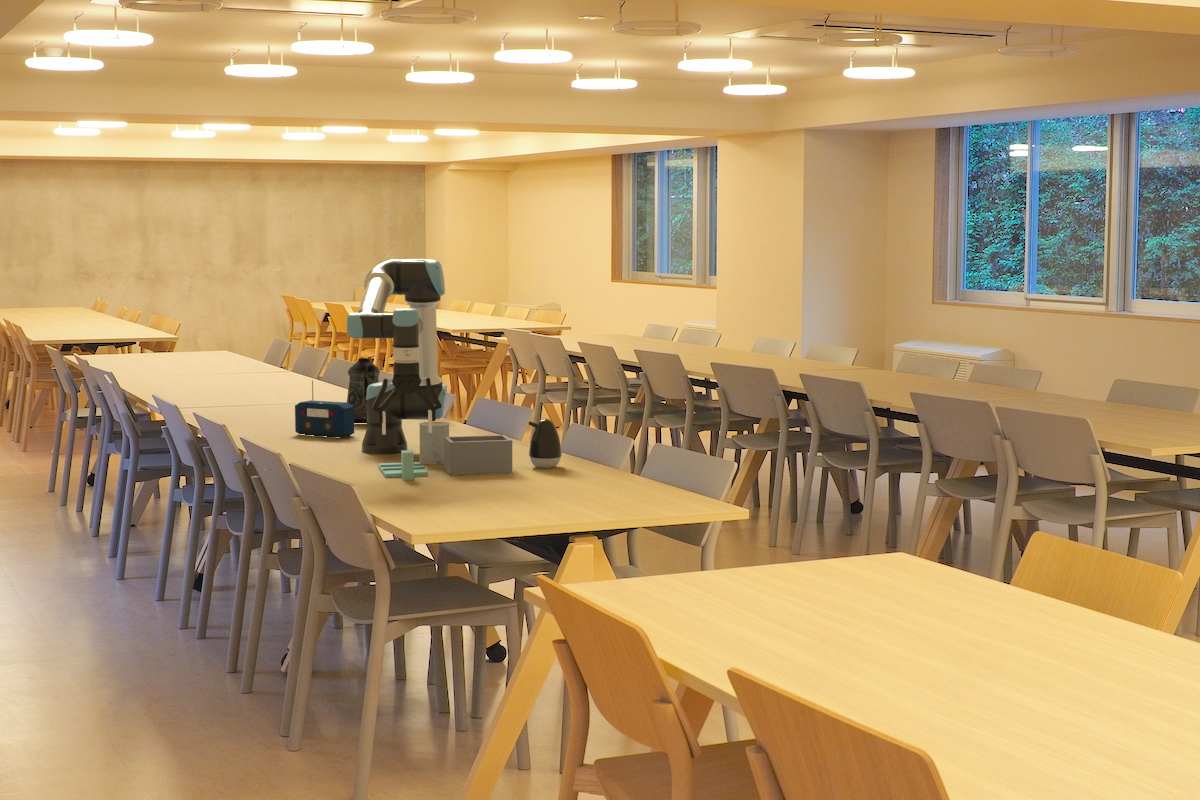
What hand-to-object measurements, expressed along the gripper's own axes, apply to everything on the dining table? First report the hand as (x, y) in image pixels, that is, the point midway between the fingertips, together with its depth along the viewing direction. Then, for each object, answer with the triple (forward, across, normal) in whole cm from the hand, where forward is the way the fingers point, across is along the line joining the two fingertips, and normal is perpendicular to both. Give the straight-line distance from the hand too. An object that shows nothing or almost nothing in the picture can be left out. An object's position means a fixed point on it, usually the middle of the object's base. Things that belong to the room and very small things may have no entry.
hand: (407, 433), depth 379 cm
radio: (+16, -19, +94) cm, 97 cm away
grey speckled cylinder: (+14, +12, +27) cm, 33 cm away
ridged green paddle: (+14, 0, +9) cm, 16 cm away
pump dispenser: (+14, +44, +9) cm, 47 cm away
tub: (+14, +22, +7) cm, 27 cm away
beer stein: (+16, 0, +128) cm, 129 cm away
